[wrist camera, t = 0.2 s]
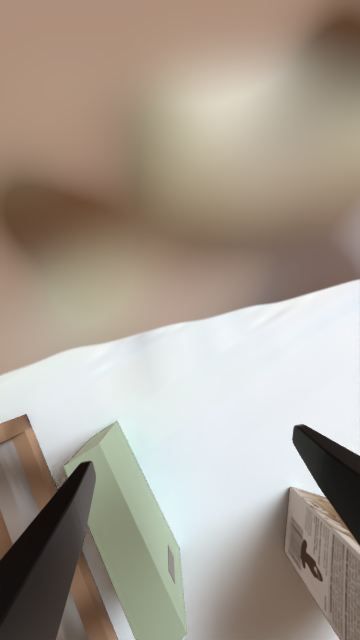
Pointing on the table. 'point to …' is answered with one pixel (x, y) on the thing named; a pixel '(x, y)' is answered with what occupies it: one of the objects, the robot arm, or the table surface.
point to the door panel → (134, 538)
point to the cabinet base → (20, 510)
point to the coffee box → (325, 560)
